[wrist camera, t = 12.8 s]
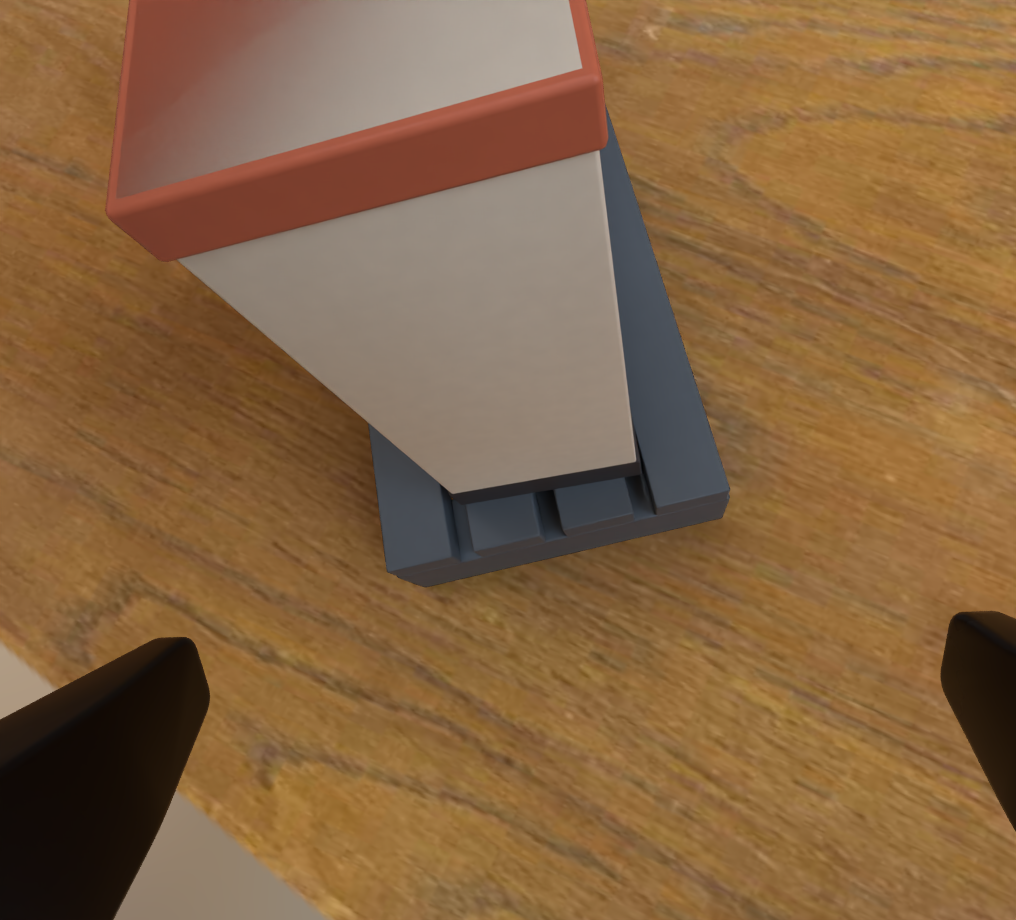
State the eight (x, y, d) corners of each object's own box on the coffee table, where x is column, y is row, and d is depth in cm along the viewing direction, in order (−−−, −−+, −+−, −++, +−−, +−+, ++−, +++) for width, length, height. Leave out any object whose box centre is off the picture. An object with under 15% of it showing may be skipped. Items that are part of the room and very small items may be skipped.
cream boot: (642, 478, 18) (603, 76, 6) (461, 509, 19) (100, 215, 7) (568, 90, 23) (462, -579, 11) (426, 129, 23) (177, -445, 11)
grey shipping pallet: (722, 518, 20) (734, 489, 17) (424, 588, 22) (382, 573, 19) (602, 136, 26) (594, 59, 23) (370, 212, 27) (330, 150, 24)
